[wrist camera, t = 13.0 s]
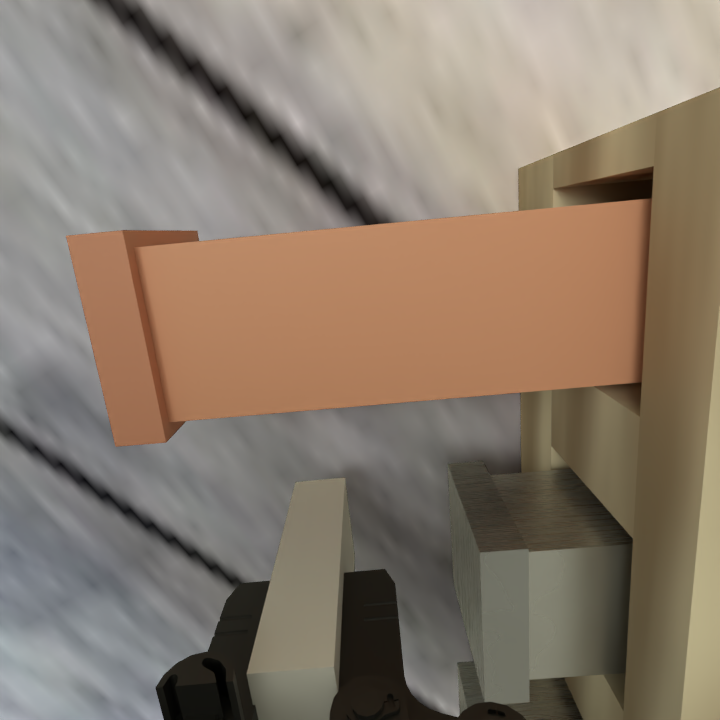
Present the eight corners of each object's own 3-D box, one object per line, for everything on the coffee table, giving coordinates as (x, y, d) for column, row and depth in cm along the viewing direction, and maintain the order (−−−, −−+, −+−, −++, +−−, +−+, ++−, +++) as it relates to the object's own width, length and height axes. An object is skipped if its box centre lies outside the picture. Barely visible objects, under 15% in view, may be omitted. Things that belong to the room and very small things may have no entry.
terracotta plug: (186, 384, 13) (115, 446, 10) (158, 234, 12) (66, 235, 9) (821, 329, 13) (1017, 371, 9) (845, 169, 12) (1076, 139, 8)
